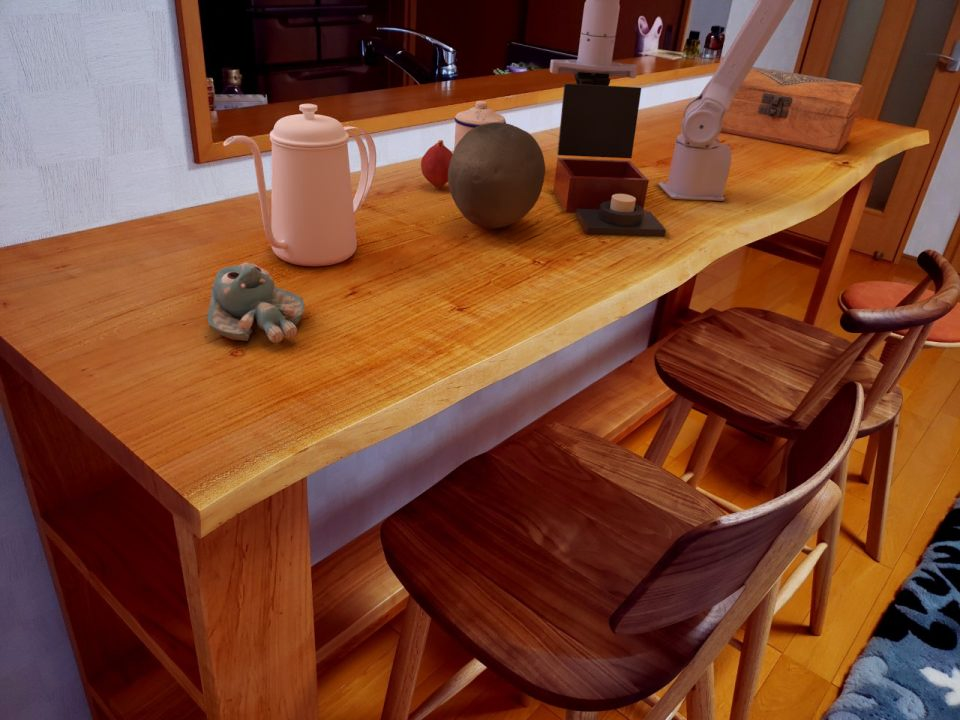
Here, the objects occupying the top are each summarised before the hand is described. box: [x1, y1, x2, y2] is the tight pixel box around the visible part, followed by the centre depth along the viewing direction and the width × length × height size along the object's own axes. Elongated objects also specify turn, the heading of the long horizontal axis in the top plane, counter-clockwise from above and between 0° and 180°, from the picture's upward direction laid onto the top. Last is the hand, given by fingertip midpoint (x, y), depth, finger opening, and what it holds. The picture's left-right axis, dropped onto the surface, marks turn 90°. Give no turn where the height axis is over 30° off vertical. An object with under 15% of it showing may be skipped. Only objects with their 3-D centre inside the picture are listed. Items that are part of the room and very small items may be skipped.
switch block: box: [574, 201, 667, 238], centre depth 114 cm, size 12×8×3 cm, turn 96°
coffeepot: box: [223, 103, 377, 267], centre depth 93 cm, size 11×25×19 cm, turn 148°
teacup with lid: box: [453, 100, 507, 150], centre depth 134 cm, size 12×9×12 cm
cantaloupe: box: [447, 122, 546, 230], centre depth 107 cm, size 14×14×15 cm
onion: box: [420, 139, 453, 189], centre depth 123 cm, size 6×6×8 cm
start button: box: [610, 194, 636, 213], centre depth 113 cm, size 4×4×2 cm
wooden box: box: [720, 66, 865, 154], centre depth 172 cm, size 30×16×14 cm, turn 58°
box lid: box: [556, 82, 642, 159], centre depth 123 cm, size 11×13×1 cm
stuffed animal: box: [206, 261, 306, 344], centre depth 79 cm, size 11×7×12 cm
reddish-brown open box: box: [552, 157, 650, 214], centre depth 122 cm, size 11×13×6 cm
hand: (586, 118), depth 130 cm, fingers closed
